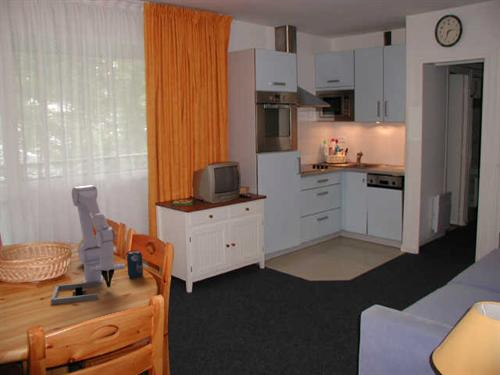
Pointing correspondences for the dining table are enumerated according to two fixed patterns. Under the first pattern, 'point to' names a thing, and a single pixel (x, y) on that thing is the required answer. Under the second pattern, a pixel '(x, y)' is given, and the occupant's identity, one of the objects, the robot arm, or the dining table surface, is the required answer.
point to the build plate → (79, 290)
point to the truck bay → (74, 298)
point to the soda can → (135, 264)
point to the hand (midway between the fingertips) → (108, 286)
